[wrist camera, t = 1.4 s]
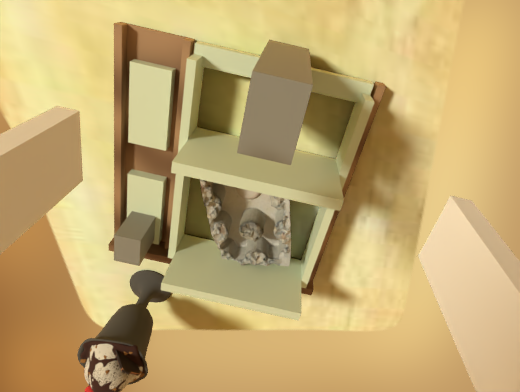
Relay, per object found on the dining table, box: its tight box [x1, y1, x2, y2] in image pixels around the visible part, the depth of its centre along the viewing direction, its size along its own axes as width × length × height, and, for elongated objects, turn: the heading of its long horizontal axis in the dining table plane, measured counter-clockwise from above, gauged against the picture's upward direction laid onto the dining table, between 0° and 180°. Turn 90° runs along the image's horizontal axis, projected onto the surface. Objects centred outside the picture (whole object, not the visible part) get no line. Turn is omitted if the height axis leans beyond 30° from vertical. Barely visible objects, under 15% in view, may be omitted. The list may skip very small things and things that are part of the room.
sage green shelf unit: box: [161, 40, 375, 321], centre depth 28 cm, size 21×14×12 cm, turn 168°
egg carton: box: [200, 179, 291, 266], centre depth 34 cm, size 11×8×4 cm
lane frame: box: [109, 22, 386, 295], centre depth 33 cm, size 21×21×2 cm
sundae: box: [78, 270, 171, 392], centre depth 37 cm, size 7×7×15 cm
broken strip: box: [114, 59, 176, 266], centre depth 32 cm, size 18×3×5 cm, turn 168°
